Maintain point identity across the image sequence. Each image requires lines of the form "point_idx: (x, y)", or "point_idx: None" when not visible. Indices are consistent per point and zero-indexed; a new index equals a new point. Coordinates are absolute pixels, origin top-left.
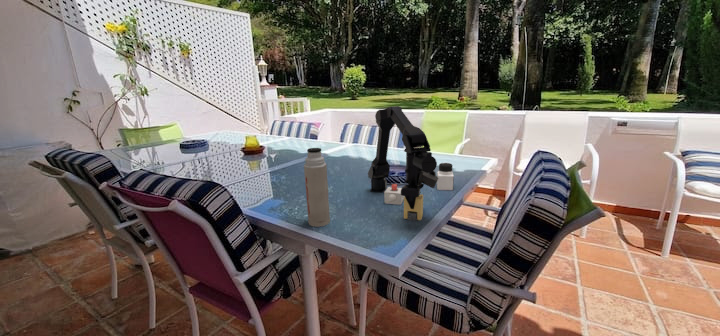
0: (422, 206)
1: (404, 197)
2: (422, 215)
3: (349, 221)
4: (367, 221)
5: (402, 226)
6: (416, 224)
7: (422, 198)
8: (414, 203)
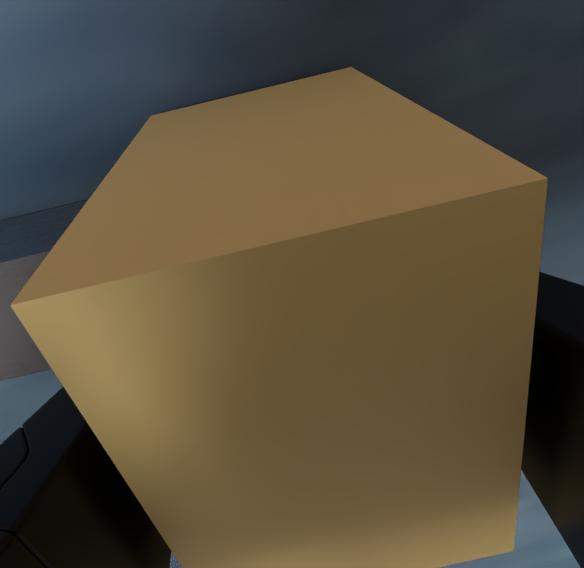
0: (205, 144)
1: (496, 549)
2: (189, 107)
3: (545, 546)
4: (520, 480)
5: (570, 215)
6: (481, 82)
7: (237, 216)
8: (551, 281)
